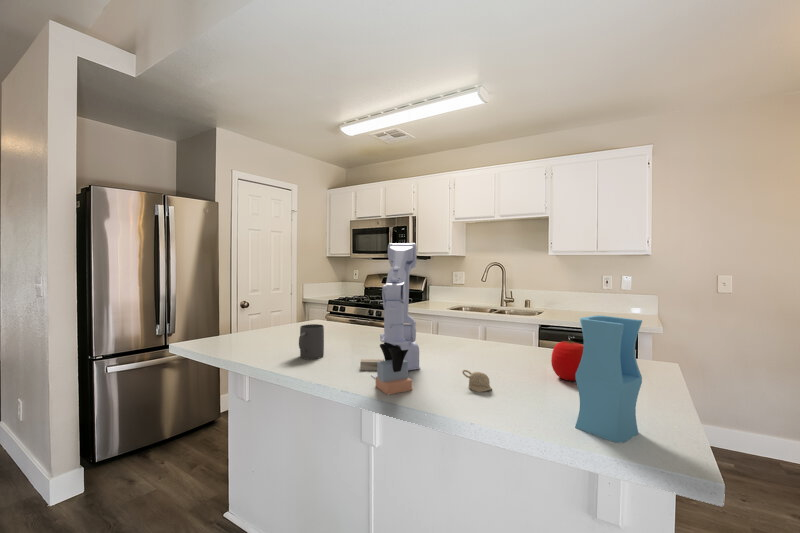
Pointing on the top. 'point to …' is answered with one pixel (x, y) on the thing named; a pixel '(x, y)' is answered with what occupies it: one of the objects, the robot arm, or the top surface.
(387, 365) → the top brick
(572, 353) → the tomato
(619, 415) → the vase
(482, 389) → the decorative ornament
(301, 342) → the mug
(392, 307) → the robot arm
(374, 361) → the brick
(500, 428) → the top surface
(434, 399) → the top surface
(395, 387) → the base brick
